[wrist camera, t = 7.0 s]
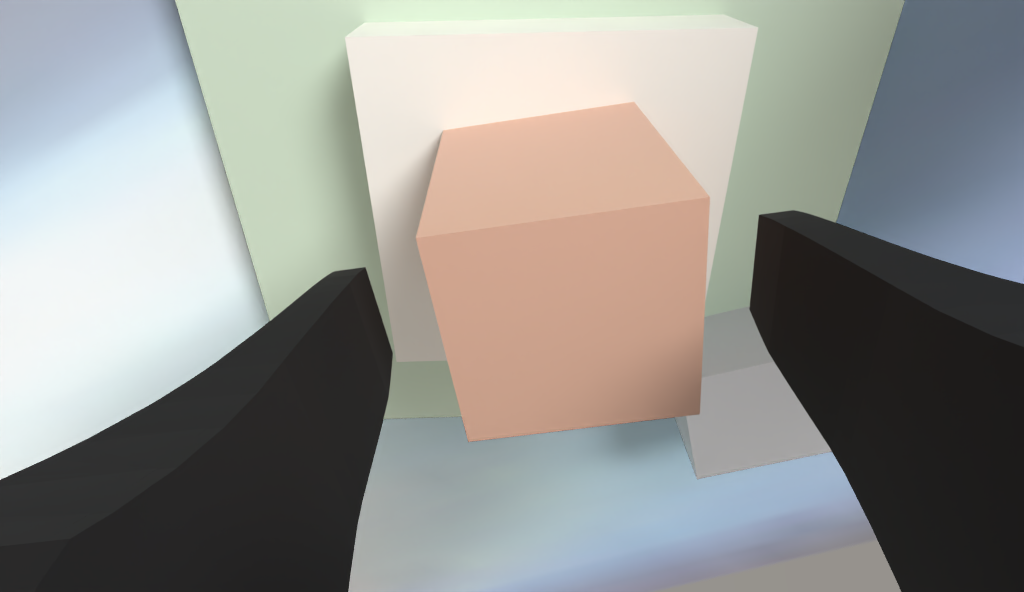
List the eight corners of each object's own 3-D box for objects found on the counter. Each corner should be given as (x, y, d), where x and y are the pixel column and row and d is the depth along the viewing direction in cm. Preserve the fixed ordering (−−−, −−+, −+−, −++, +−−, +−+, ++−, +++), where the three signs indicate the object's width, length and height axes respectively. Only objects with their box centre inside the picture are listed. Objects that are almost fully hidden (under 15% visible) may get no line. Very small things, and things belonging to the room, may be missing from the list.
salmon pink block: (634, 101, 12) (709, 196, 8) (638, 268, 14) (699, 414, 10) (442, 130, 12) (415, 238, 8) (476, 290, 14) (468, 441, 10)
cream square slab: (724, 14, 13) (757, 27, 11) (675, 311, 17) (695, 353, 16) (364, 22, 13) (344, 37, 11) (406, 318, 17) (396, 361, 15)
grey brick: (793, 295, 17) (835, 347, 15) (796, 393, 19) (833, 451, 17) (658, 327, 18) (680, 382, 15) (675, 419, 20) (697, 479, 18)
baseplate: (940, -216, 12) (975, -228, 11) (766, 386, 20) (778, 406, 19) (140, -202, 11) (112, -212, 11) (307, 400, 20) (299, 421, 19)
